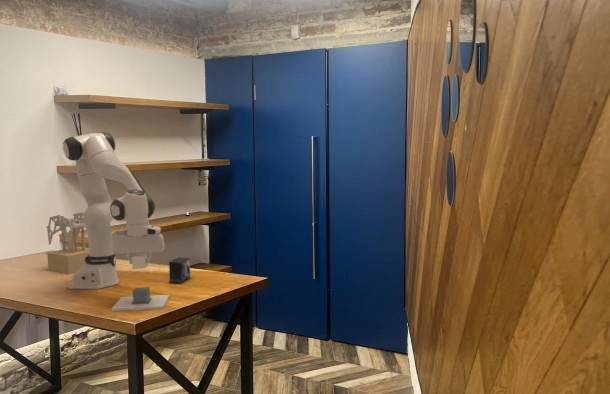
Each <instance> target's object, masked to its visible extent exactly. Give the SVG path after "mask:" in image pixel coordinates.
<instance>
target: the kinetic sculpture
mask: <svg viewBox="0 0 610 394" xmlns="http://www.w3.org/2000/svg"><path fill="white" fill-rule="evenodd" d="M84 212H85V211H82V212H78V213H74V214H72V216H73V218H70V219H69V218H67V217H65V216H64V215H61V214H58V215H54V216H49V219H48V225H47V226H46V229H47V230H46V231H47V239H48V245H49V246H50V245H51V244H52V241H53V236H54V235H56V233H58V232H61V239H62V240H61V241H62V243H61V245H62V249H60V250H55V251H54V250H53V251H47V252H45V255H46V256H47V268H46V272H55V273H59V274H65V275H72V274H73V275H74V273H75V272H76V271H77V270H78V269H80V268H81V267H82V266H83V265H85V264H86V262H85V261H84V260H85V257H87V255H89V247H86V244H85V243H86V242H85V241H86V240H85V239H86V238H85V229H86V226H85V222H84V219H83V216H84ZM51 222H53V224H54V227H53V230H52V229H51V224H52V223H51ZM57 227H58V228H57ZM67 228H69V230H67ZM79 233H81V246H77V240H78V237H79ZM66 241H67V245H68V247H69V248H66Z"/></svg>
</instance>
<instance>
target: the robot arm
mask: <svg viewBox="0 0 610 394" xmlns="http://www.w3.org/2000/svg"><path fill="white" fill-rule="evenodd" d="M115 142H116V141H115V139H114V137H113V135H112V134H111V133H109V132H99V133H98V132H97V133H95V132H94V133H93V132H92V133H85V134H82V135H76V136H71V137H70V136H69V137H67V138H66V139H64V141H63V142H62V143H63V144H62V151H63V154H64V155H65V157H66V159H68V160H69V161H74V162H75V167H76V174H77V179H78V183H79V187H80V191H81V194H82V195H83V197H84V200H85V202H86V205H87V208H86V209H85V210H84V211H83V212H84V215H83V219H84V222H85V226H86V228H85V230H86V234H87V240H88V248H89V255H87V257H85V260H84V261H85V262H86V264H85V265H83V266H82V267H81V268H80V269H78V270H77V271H76V272H75V273H73V277H72V281H71V282H69V283H68V284H67V289H70V290H71V289H73V290H75V289H76V290H78V289H79V290H82V289H83V290H99V289H103V288H108V287H113V286H115V285H117V284H119V283H120V280H119V278H118V277H119V276H118V272H117V267H116V266H117V257H116V255H117V254H118V255H121V254H124V255H125V256H126V258H127V260H128V261H129V265H132V256H131V254H147V258H146V263H148V264H150V263H151V258H152V256H153V253H163V251H164V250H165V249H166V245H165V244H166V243H165V238H164V235H163V234H162V233H161V231H162V228H161V227H160V226H156V225H153V224H150V220H149V218H151V217H152V216H153V214H154V212H155V210H156V204H155V201H154V200H153V198H151V196H150V195H149V194H148V193H147V192H146V191H145V189H144V187H143V186H142V185H141V183H140V181H139V180H138V178H137V177H136V175H135V173H134V172H133V171H132V170H131V169H130V167H128V166H127V165H125V164H124V163H123V162H122V161H121V159H119V157H117V154H116V152H115V150H116V143H115ZM106 180H111V181H115V182H117V183H120V184H122V185H123V186H125V188H127V191H126V192H125V194H124V195H123V196H121V197H118V198H116V199H114V200H113V201H112V198H111V195H110V193H109V191H108V187H107V184H106ZM113 220H115V221H117V222H119V221H120V222H124V221H126V222H125V224H126V227H125V229H126V230H115V231H114V232H113V231H112V226H111V222H112V221H113Z"/></svg>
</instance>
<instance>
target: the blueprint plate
mask: <svg viewBox="0 0 610 394" xmlns="http://www.w3.org/2000/svg"><path fill="white" fill-rule="evenodd" d="M170 295H171V294H159V295H158V294H156V295H155V294H153V295H150V299H149V301H148V302H147V303H133V295H132V296H121V297H120V298H119V300H117V302H115V304H114V305H113V306H112V307H111V312H123V311H140V310H141V311H144V310H162V309H164V308H165V306H166V305H167V303H168V301H169V299H170V297H171V296H170Z"/></svg>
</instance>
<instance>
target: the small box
mask: <svg viewBox="0 0 610 394" xmlns="http://www.w3.org/2000/svg"><path fill="white" fill-rule="evenodd" d="M168 267H169V269H168V270H169V284H183V283H184V282H186V281H188V280H190V279H191V258H190V257H177V258H174V259H173V260H170V261H169V262H168Z"/></svg>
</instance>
